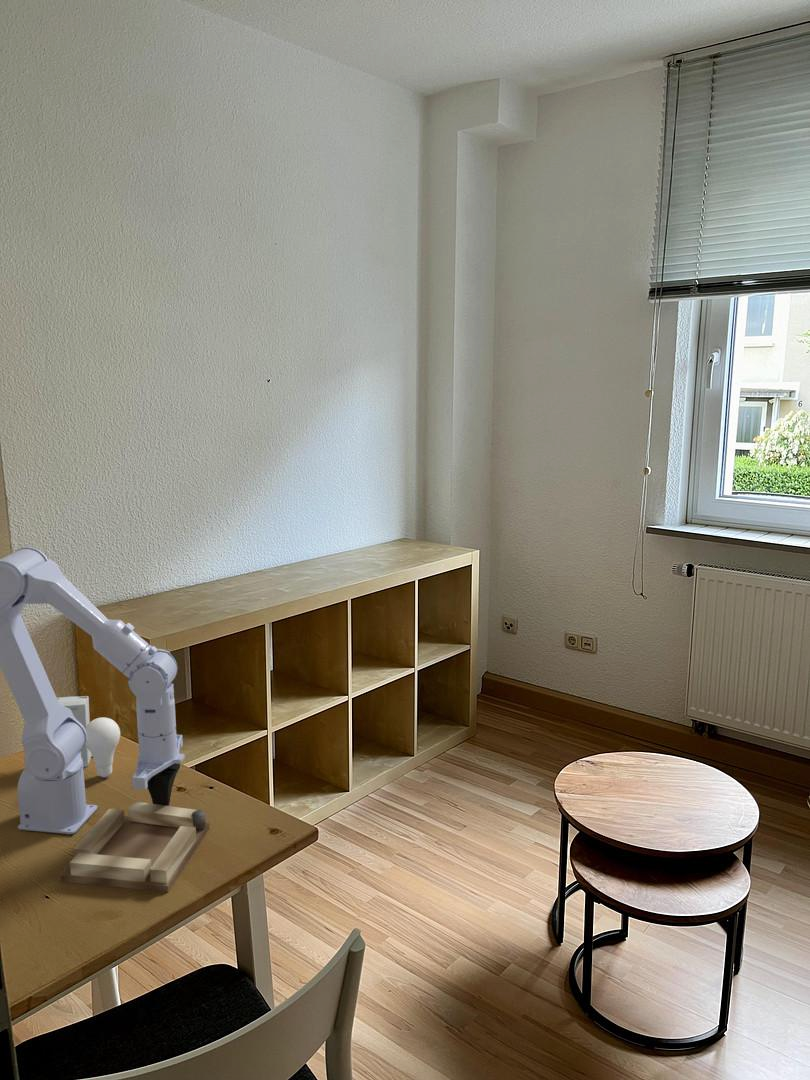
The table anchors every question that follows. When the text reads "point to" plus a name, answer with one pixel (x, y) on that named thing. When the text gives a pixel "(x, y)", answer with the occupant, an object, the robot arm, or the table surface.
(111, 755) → the lightbulb
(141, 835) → the stool seat
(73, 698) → the skincare box
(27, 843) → the table surface
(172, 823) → the hinged leg
